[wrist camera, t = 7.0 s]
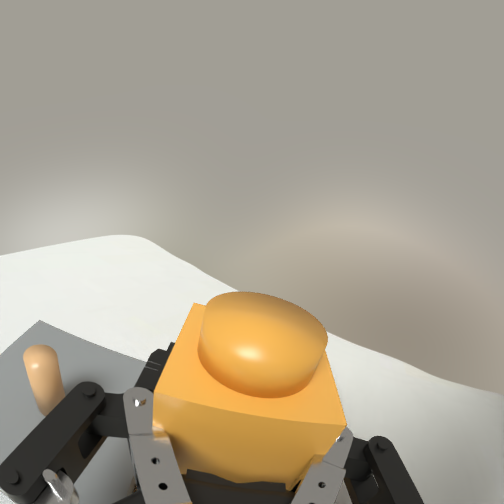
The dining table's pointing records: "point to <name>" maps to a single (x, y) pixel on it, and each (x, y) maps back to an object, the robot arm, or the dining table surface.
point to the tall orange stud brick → (249, 390)
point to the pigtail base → (73, 372)
